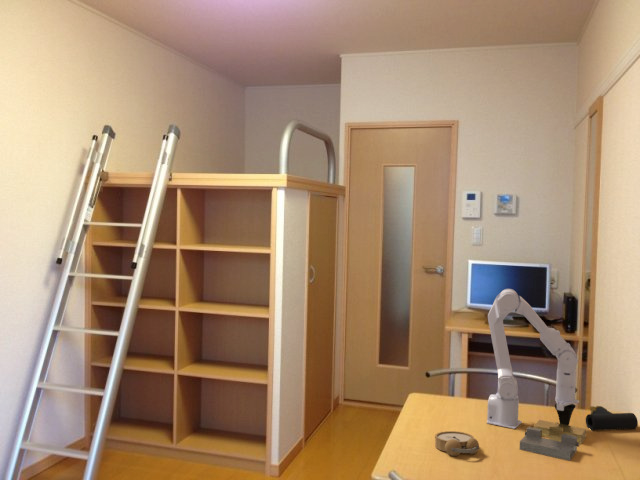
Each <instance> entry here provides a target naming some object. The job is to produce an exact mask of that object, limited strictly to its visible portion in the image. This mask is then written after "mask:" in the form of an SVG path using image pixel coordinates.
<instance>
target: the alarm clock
mask: <svg viewBox="0 0 640 480" xmlns="http://www.w3.org/2000/svg"><path fill="white" fill-rule="evenodd" d="M434 439H435V440H434V442H435V443H434V444H435V445H434V447H435V448H436V449H438V450H439V451H443V452H446V454H447V455H449V456H450V457H451V456H452V457H456V456H457V457H458V456H459V455H460V454H461V453H462V454H468V455H471V456H474V455H476V454H477V453H478V452H479V450H480V444H479V441H478V440H477V439H476V438H475V437H474V435H472V434H470V433H468V432H464V431H463V432H462V431H456V430H455V431H451V430H450V431H449V430H448V431H447V430H446V431H440V432H437V433H436V434H435V435H434Z"/></svg>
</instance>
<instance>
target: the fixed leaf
mask: <svg viewBox="0 0 640 480" xmlns="http://www.w3.org/2000/svg"><path fill="white" fill-rule="evenodd" d="M579 445H580V444H579V442H577V437H576V436H571V435H567V434H562V435H561V442H560V441H555V440H550V439H549V438H547V437H543V436H542V429H537V428H534V427H532V426H531V427H530V426H527V428H526V430H525V431H524V437H522V438H521V440H519V450H522V451H524V452H525V451H526V452H528V453H529V452H530V453H534V454H538V455H542V456H547V457H552V458H555V459H560V460H565V461H569V462H570V461H571V460H572V458H573V457H574V455H575V454H576V453H577V450H578V447H579Z"/></svg>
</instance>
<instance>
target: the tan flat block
mask: <svg viewBox="0 0 640 480" xmlns="http://www.w3.org/2000/svg"><path fill="white" fill-rule="evenodd" d="M533 428H537V429H542V437H543V438H547V439H550V440H555V441H560V442H561V435H562V434H567V435H571V436H576V437H577V442H579V445H582V444H583V442H584V441H585V440H586V438H587V437H586V436H587V429H586V428H583V427H578V426H574V425H570V424H569V425H564V424H560V422H559V423H557V422H553V421H548V420H543V419H539V420H537V421H536V423H535V424H534V425H533Z"/></svg>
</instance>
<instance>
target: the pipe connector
mask: <svg viewBox="0 0 640 480" xmlns="http://www.w3.org/2000/svg"><path fill="white" fill-rule="evenodd" d="M589 411H590V414H589V413H588V414H587V415H586V416H585V424H586V428H588V429H589V428H590V429H591V430H590V429H589V430H590V431H608V430H609V431H612V430H614V431H615V429H616V430H636V428H637V427H638V423H639V422H638V418H637V416H636V414H634V413H633V412H623V413H622V412H620V413H619V412H618V413H612V412H611V411H609V410H607V408H605V407H603V406H601V405H596V406H593V405H591V406H589Z"/></svg>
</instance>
